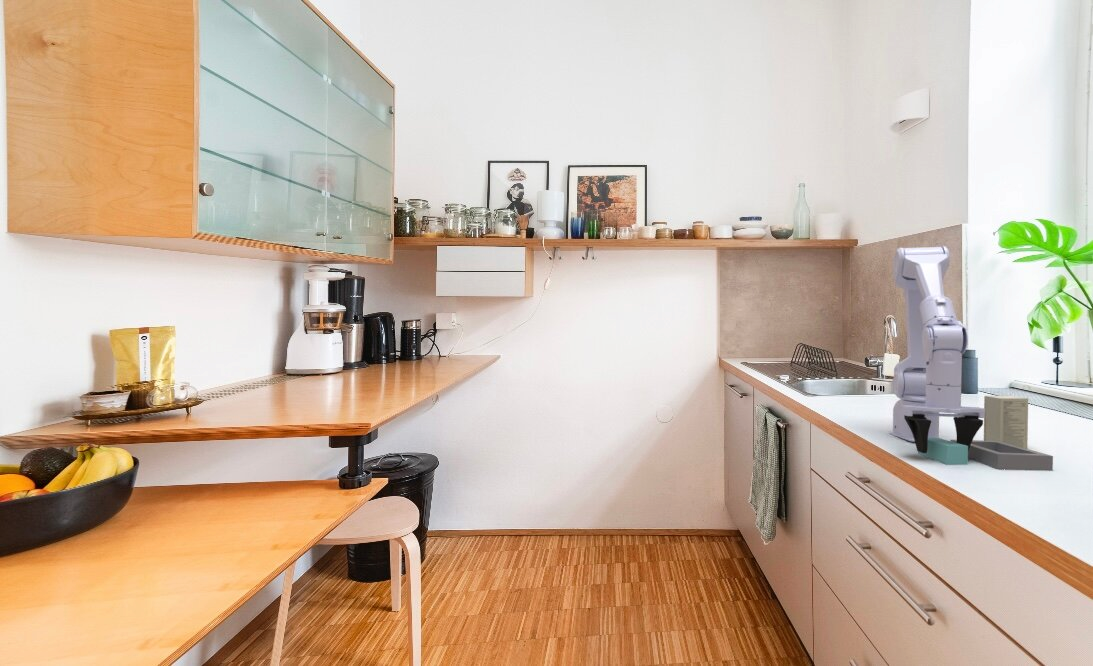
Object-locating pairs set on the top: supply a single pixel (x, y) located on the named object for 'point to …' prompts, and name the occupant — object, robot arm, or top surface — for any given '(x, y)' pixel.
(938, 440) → the peg
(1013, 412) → the skincare box
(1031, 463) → the socket block
